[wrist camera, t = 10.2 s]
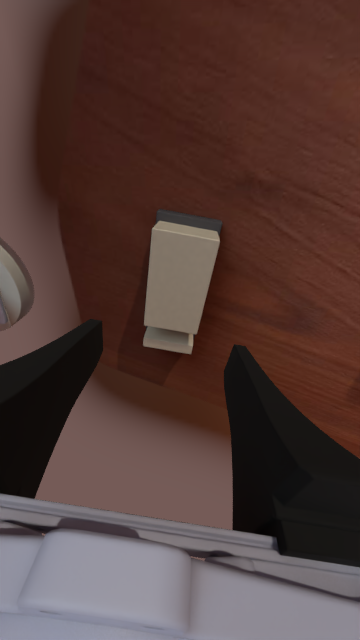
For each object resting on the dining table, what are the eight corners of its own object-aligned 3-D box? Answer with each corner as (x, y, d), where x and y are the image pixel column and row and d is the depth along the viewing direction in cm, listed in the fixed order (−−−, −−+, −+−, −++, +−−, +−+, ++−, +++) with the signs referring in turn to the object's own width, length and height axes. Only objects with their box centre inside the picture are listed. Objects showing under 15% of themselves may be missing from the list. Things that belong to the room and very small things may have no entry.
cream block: (193, 333, 23) (192, 360, 20) (148, 325, 23) (139, 351, 20) (221, 220, 17) (226, 231, 14) (159, 208, 17) (149, 216, 14)
